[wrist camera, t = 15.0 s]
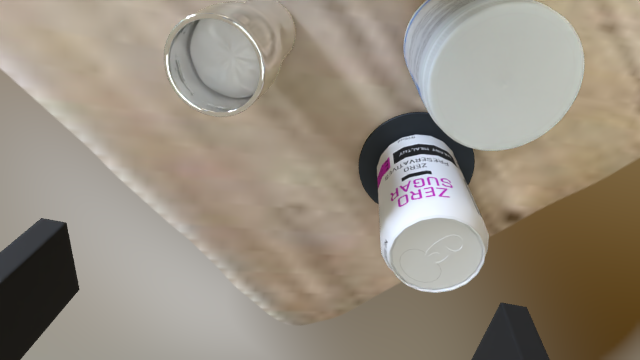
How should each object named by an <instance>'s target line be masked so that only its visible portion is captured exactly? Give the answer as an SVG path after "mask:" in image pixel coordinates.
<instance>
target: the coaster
mask: <svg viewBox="0 0 640 360" xmlns="http://www.w3.org/2000/svg"><path fill="white" fill-rule="evenodd" d="M412 135H427V136H432V137H434V138H436V139H438V140H441V141H443V142H444V143H445V144H446V145H447V146H448V147H449V148H450V149H451V150H452V152H453V154H454V156H455V158H456V161H457V163H458V165H459V167H460V169H461V172H462V174H463V176H464V178H465V181H466V183H467V185H468V184H469V182H470V180H471V177H472V174H473V170H474V153H473V148H469V147H467V146H464V145H462V144H460V143H458V142H456V141H454V140H453V139H452V138H450V137H449V136H448V135H447V134H446V133H444V132H443V130H442V129H441V128H440V127H439V126H438V125H437V124H436V123H435V122H434V121H433V119H432V117H431V116H430V114H429V113H424V112H415V113H407V114H403V115H400V116H396V117H394V118H392V119H390V120H388V121H386V122H385V123H383V124H382V125H380V126H379V127H378V128H377V129H376V130H375V131H374V132H373V133H372V134H371V135H370V136H369V138H368V139H367V140H366V142H365V144H364V146H363V148H362V151H361V154H360V159H359V174H360V179H361V182H362V185H363V187H364V189H365V190H366V192H367V193H368V195H369V196H370V197H371V198H372V199H373V200H374V201H375V202H376V203H377V204H379V201H378V181H377V166H378V163H379V160H380V157H381V155H382V154H383V152H384V151H385V150H386V149H387V148H388V146H389V145H391V144H392V143H394V142H396V141H397V140H399V139H401V138H403V137H407V136H412Z"/></svg>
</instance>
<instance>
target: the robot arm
mask: <svg viewBox="0 0 640 360" xmlns="http://www.w3.org/2000/svg"><path fill="white" fill-rule="evenodd" d="M78 290H79V286H78V280H77V275H76V270H75V265H74V259H73V254H72V249H71V244H70V239H69V234H68V229H67V223H64V222H60V221H54V220H49V219H43V218H41V219H40V220H39V221H37V222H36V223H35V224H34V225H33V226H32V227H30V228H29V229H28V230H27V231H25V233H23V234H22V235H21V236H19V237H18V238H17V239H16V240H15V241H13V242H12V243H11V244H10V245H9V246H8V247H6V248H5V249H4V250H3V251H1V252H0V360H20V359H21V358H22V357H23V356H24V355H25V353H26V352H27V351H28V350H29V348H31V346H32V345H33V344H34V343H35V341H36V340H37V339H38V338H39V337H40V336H41V334H42V333H43V332H44V331H45V330H46V328H47V327H48V326H49V325H50V324H51V322H52V321H53V320H54V319H55V318H56V317H57V315H58V314H59V313H60V312H61V311H62V309H63V308H64V307H65V306H66V305H67V304H68V302H69V301H70V300H71V299H72V298H73V296H74V295H75V294H76V293H77V292H78ZM472 360H549V357H548V355H547V353H546V350H545V348H544V346H543V344H542V341H541V339H540V337H539V335H538V332H537V330H536V328H535V326H534V323H533V321H532V318H531V316H530V314H529V312H528V309H527V307H523V306H517V305H512V304H506V303H500V305H499V307H498V309H497V311H496V313H495V315H494V317H493V319H492V321H491V323H490V325H489V327H488V329H487V331H486V332H485V335H484V336H483V338H482V340H481V342H480V344H479V346H478V348H477V350H476V352H475V354H474V356H473V358H472Z"/></svg>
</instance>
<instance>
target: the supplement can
mask: <svg viewBox="0 0 640 360" xmlns="http://www.w3.org/2000/svg"><path fill="white" fill-rule="evenodd" d="M377 181H378V201H379V221H380V241H381V254H382V256H383V258H384V260H385V262H386V264H387V266H388V267H389V268H390V269H391V270H392V271H393V272H394V273H395V275H396V277H397V278H399V279H400V280H401V281H402V282H403V283H404V284H406V285H407V286H410V287H412V288H414V289H417V290H419V291H426V292H434V293H437V292H444V291H450V290H454V289H456V288H458V287H461V286H463V285H465V284H467V283H468V282H469V281H470V280H471V279H473V278H474V277H475V276H476V275H477V274H478V272H479V271H480V269H481V267H482V265H483V264H484V259H485V255H486V253H487V251H488V239H489V234H488V231H487V229H486V226H485V224H484V221H483V219H482V216H481V214H480V212H479V210H478V208H477V205H476V203H475V201H474V199H473V196H472V194H471V192H470V190H469V187H468V185H467V183H466V181H465V178H464V176H463V174H462V172H461V169H460V167H459V165H458V163H457V161H456V158H455V156H454V154H453V152H452V150H451V149H450V148H449V147H448V146H447V145H446V144H445V143H444V142H443V141H441V140H438V139H436V138H434V137H432V136H427V135H412V136H407V137H403V138H401V139H399V140H397V141H396V142H394V143H392V144H391V145H389V146H388V148H387V149H386V150H385V151H384V152H383V154H382V155H381V157H380V160H379V163H378V166H377Z"/></svg>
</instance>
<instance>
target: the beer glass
mask: <svg viewBox="0 0 640 360" xmlns="http://www.w3.org/2000/svg"><path fill="white" fill-rule="evenodd" d="M295 38H296V28H295V23H294V20H293V18H292V16H291V14H290V13H289V11H288V10H287V9H286V8H285V7H284V6H283V5H282V4H281V3H279V2H278V1H276V0H248V1H246V2H245V3H243V2H234V1H230V2H223V3H218V4H214V5H211V6H209V7H206V8H204V9H202V10H200V11H198V12H196V13H195V14H193V15H191V16H189V17H187V18H185V19H183V20H182V21H180V22H179V23H178V24H177V25H176V26H175V27H174V28H173V30H172V31H171V33H170V34H169V36H168V39H167V41H166V44H165V49H164V66H165V71H166V74H167V77H168V80H169V82H170V84H171V86H172V88H173V89H174V91H175V92H176V93H177V95H178V96H179V97H180V98H181V99H182V100H183V101H184V102H185V103H186V104H187V105H189V106H190V107H192V108H193V109H195V110H197V111H199V112H201V113H203V114H206V115H210V116H216V117H227V116H233V115H236V114H239V113H241V112H243V111H245V110H246V109H247V108H249V107H250V106H251V105H252V104H253V103H254V102H255V101H256V100H257V99H259V98H260V97H261V96H262V95H263V94H264V93H265V92H266V91H267V90H268V89H269V88H270V86H271V85H272V84H273V82H274V80H275V79H276V77H277V75H278V73H279V71H280V68H281V64H282V60H283V59H284V58H285V57H286V56H287V55H288V54H289V53H290V52H291V50H292V48H293V46H294V43H295Z"/></svg>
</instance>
